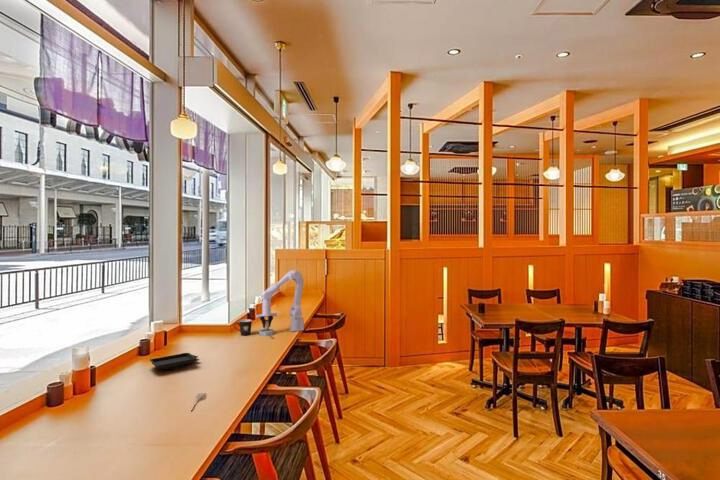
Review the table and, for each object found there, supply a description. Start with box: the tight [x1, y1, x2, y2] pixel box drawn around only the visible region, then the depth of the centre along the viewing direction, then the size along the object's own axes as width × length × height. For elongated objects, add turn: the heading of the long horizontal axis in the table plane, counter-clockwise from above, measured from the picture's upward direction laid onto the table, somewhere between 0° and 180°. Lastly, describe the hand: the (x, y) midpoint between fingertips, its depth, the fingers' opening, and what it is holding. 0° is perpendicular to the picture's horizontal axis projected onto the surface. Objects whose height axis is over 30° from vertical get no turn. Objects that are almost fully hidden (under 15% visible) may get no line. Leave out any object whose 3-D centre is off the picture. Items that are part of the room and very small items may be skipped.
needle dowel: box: [263, 319, 270, 331], centre depth 297 cm, size 3×3×7 cm
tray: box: [149, 352, 199, 371], centre depth 227 cm, size 30×23×5 cm
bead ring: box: [258, 328, 275, 337], centre depth 297 cm, size 10×10×2 cm
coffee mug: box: [233, 318, 253, 337], centre depth 294 cm, size 12×9×10 cm
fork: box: [195, 392, 207, 404], centre depth 180 cm, size 3×21×3 cm, turn 3°
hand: (266, 327), depth 297 cm, fingers closed on needle dowel, 3 cm apart
